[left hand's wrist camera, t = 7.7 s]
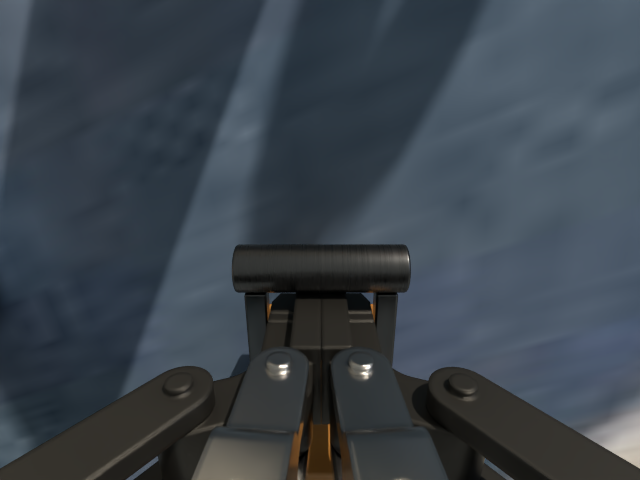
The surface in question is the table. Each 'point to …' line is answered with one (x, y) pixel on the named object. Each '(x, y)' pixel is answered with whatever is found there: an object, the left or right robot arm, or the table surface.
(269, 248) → the drawer
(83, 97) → the table surface
